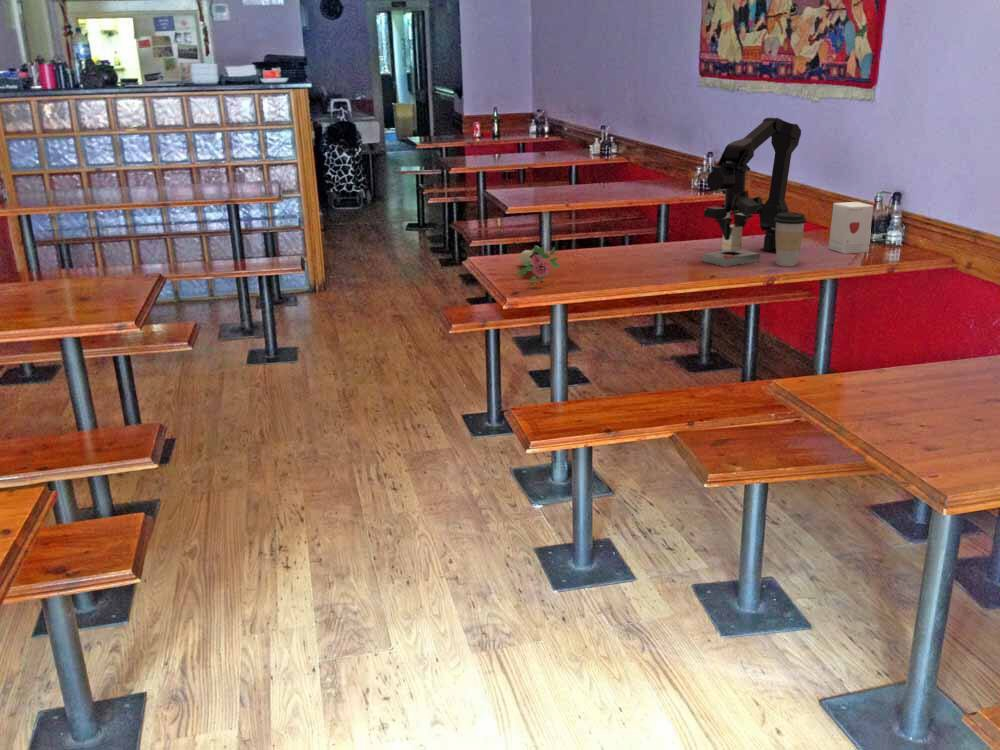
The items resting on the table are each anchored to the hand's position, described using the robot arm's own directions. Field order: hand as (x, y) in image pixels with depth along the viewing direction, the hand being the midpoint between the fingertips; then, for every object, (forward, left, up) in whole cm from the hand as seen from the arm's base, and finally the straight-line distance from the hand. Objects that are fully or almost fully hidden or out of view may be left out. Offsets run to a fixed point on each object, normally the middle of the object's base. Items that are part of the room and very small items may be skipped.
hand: (732, 238), depth 284 cm
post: (0, 0, -4) cm, 4 cm away
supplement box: (-42, +8, -7) cm, 43 cm away
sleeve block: (0, 0, -7) cm, 7 cm away
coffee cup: (-11, +12, -7) cm, 18 cm away
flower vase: (+61, -14, -7) cm, 63 cm away
